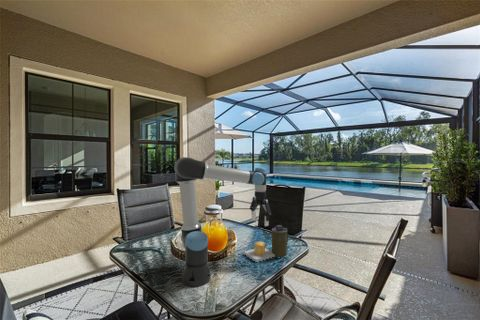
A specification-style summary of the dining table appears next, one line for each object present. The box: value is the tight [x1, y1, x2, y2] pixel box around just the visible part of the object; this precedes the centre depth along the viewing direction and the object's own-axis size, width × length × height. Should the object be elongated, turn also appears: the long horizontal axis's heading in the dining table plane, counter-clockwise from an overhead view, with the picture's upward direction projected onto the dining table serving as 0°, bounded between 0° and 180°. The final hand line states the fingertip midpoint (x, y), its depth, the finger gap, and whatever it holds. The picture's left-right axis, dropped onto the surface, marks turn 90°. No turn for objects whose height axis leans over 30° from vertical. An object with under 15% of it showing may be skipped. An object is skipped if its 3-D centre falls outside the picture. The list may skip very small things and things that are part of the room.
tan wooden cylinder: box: [253, 241, 266, 255], centre depth 146 cm, size 7×7×6 cm
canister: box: [271, 224, 289, 258], centre depth 148 cm, size 11×10×20 cm
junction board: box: [243, 247, 275, 263], centre depth 146 cm, size 16×14×6 cm
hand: (259, 223), depth 146 cm, fingers open, 13 cm apart
